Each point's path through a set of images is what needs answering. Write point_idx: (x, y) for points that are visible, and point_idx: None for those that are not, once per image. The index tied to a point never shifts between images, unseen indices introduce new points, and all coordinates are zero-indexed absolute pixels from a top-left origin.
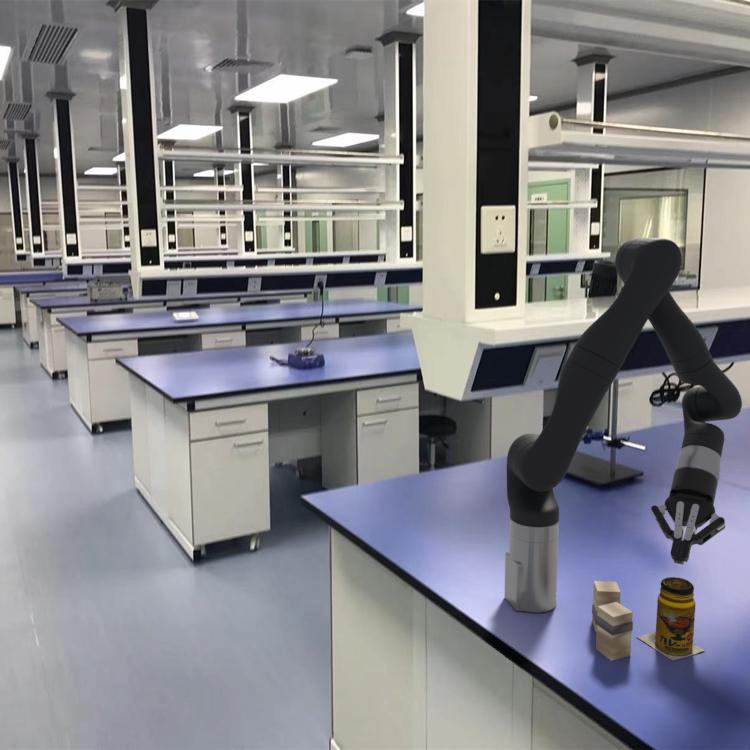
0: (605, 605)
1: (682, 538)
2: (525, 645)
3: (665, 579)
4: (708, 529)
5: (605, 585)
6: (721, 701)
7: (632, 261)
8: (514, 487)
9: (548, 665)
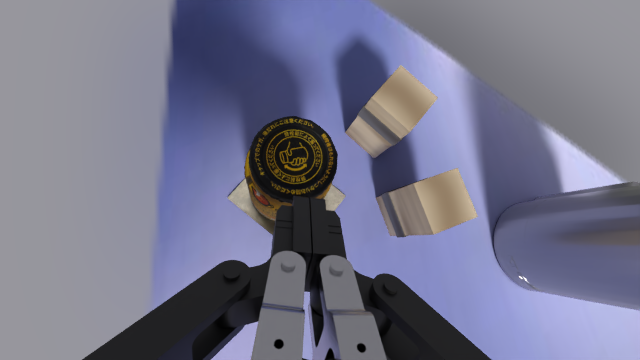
0: (425, 106)
1: (310, 314)
2: (486, 103)
3: (328, 168)
4: (171, 319)
5: (450, 204)
6: (201, 56)
7: None
8: None
9: (442, 63)
